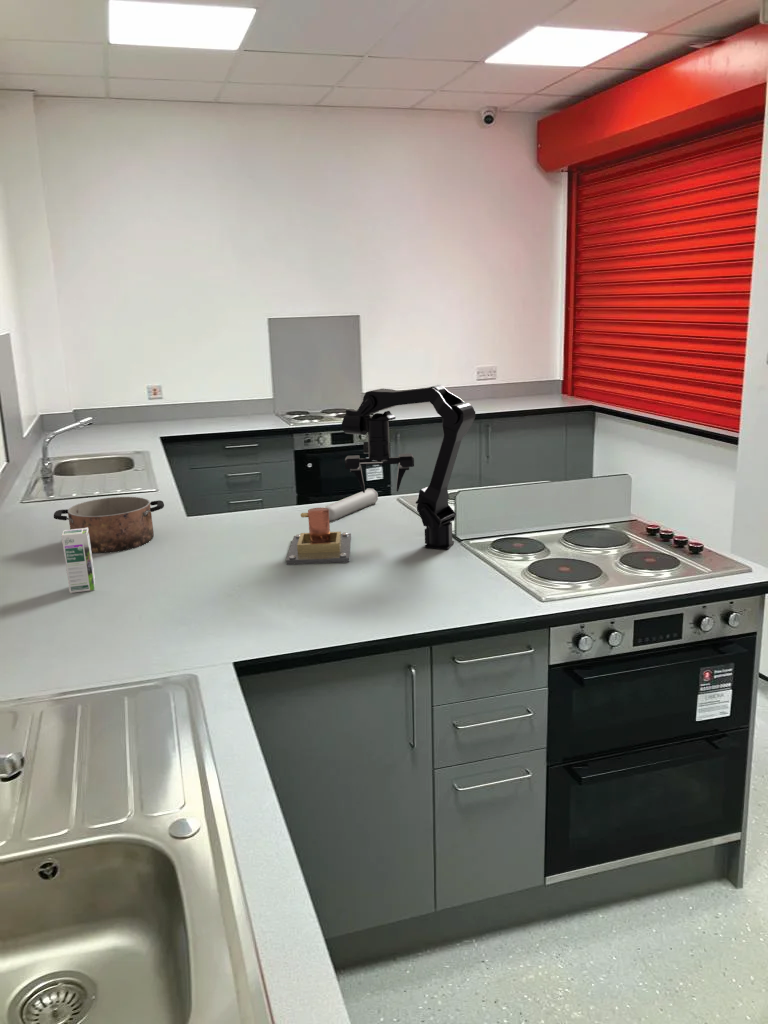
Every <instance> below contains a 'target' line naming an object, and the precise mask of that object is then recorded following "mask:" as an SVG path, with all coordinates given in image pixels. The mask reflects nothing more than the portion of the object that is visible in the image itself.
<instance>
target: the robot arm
mask: <svg viewBox="0 0 768 1024" xmlns="http://www.w3.org/2000/svg"><path fill="white" fill-rule="evenodd" d="M421 403H430V404H431V405H432V406H433V409H434V410H435V411H436V413H437V414H438V415H439V416H440V417H441V418H442V423H441V426H442V432H443V438H442V441H441V445H440V448H439V452H438V455H437V459H436V461H435V465H434V469H433V471H432V472H433V473H432V475H431V479H430V483H429V485H428V486H426V487H423V488H421V489H420V490H419V492H418V498H417V500H416V501H415V504H417V505H416V511H417V512H418V513H417V514H418V515H419V516H420V520H421V523H422V524H423V527H426V528H424V544H425V545H424V548H426V549H437V550H449V548H451V547H452V546H453V545H454V544H455V541H454V540H453V522H454V521H455V520H456V516H457V513H456V511H454V509H453V508H452V507H451V506H450V505H449V498H450V495H449V491H448V486H449V484H450V479H451V476H452V472H453V470H454V467H455V463H456V460H457V455H458V453H459V449H460V447H461V442H462V440H463V438H464V436H465V435H466V434H467V433H468V431H469V430H470V428H471V427H472V425H473V423H474V421H475V418H476V414H477V413H476V411H475V409H474V408H475V407H473V405H472V404H470V403H469V402H465V400H463V399H462V398H461V397H459V396H458V395H456V394H454V393H452V392H451V391H449V390H448V389H447V388H446V387H445V386H443V385H441V384H437V385H433V386H429V387H421V388H412V389H404V390H398V389H397V390H396V389H392V388H391V389H390V388H378V389H374V390H368V391H366V392H365V393H364V395H363V398H362V402H361V403H360V405H359V407H358V409H352V408H350V409H346V410H345V415H344V416H343V418H342V422H341V428H342V431H343V433H344V434H347V435H359V436H361V435H362V436H364V435H365V436H366V435H367V440H368V441H363V454H365V455H366V454H368V458H367V457H366V458H365V457H364V458H362V457H361V458H360V455H358V454H357V455H356V454H355V455H347V456H345V458H344V467H345V470H349V472H350V473H354V475H355V477H356V479H357V481H358V482H359V485H360V487H361V490H362V491H363V493H365V490H366V489H365V481H364V476H363V469H362V466H374V465H375V466H376V465H397V475H396V485H395V486H396V487H395V488H396V492H399V490H400V486H401V483H402V479H403V478H404V475H405V474H406V471H409V470H410V468H413V467H415V459H414V455H413V453H410V452H409V453H408V452H407V453H399V454H398V456H393V457H391V455H390V453H391V452H390V450H391V449H390V448H391V447H390V431H389V430H390V425H389V421H393V420H395V419H396V416H395V415H394V414H393V413H391V411H390V410H388V409H391V408H394V407H397V406H403V405H404V406H405V405H415V404H421ZM385 410H386V411H385ZM381 411H384V412H381ZM380 412H381V413H380ZM372 414H373V415H372ZM362 491H361V492H362Z"/></svg>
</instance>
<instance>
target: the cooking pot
mask: <svg viewBox="0 0 768 1024" xmlns="http://www.w3.org/2000/svg"><path fill="white" fill-rule="evenodd" d="M152 506H153V507H152ZM163 508H165V504H164V501H163V500H158V499H157V500H154V501H153V500H152V501H150V500H148V499H147V498H144V497H139V496H138V497H137V496H114V497H104V498H103V497H102V498H97V499H92V500H87V501H84V502H81V503H78V504H75V505H73V506H71V507H69V508H67V509H58V510H56V511H55V512H54V513H53V519H55V520H59V521H68V522H69V530H71V529H81V528H87V527H88V530H89V537H90V545H91V552H92V554H109V553H110V552H111V553H117V552H118V551H119V552H123V550H125V551H129V550H133V549H137V548H139V546H140V547H142V545H143V546H145V545H146V543H147V544H148V543H150V542H151V541H152V540H153V538H154V526H153V518H152V513H153V512H157V511H159V510H162V509H163ZM65 514H66V515H65ZM149 541H150V542H149ZM144 544H145V545H144ZM132 548H133V549H132ZM128 549H129V550H128Z"/></svg>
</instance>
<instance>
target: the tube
mask: <svg viewBox="0 0 768 1024" xmlns="http://www.w3.org/2000/svg"><path fill="white" fill-rule="evenodd" d="M378 500H379V494H378V492H377V490H375V489H374V488H370V487H369V488H366V489H365V493H363V491H360V492H357V493H355V494H352V495H350V496H347V497H344V498H343V499H340V500H338V501H335V502H332V503H330V504H328V505H325V507H324V508H328V509H329V522H334V521H336V520H339V519H341V518H343V517H346V516H347V515H348V516H349V515H350V514H352V513H355V512H358V511H360V510H362V509H365V508H367V507H369V506H372V505H375V504H376V503H377V502H378Z"/></svg>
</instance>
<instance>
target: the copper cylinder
mask: <svg viewBox="0 0 768 1024" xmlns="http://www.w3.org/2000/svg"><path fill="white" fill-rule="evenodd" d="M300 517H301V518H307V519H308V520H307V521H308V531H309V532H308V533H309V536H310V543H330V542H331V541H330V532H331V525H330V521H329V509H328V508H325V507H312V508H310V509H308V510H307V512H302V513H300Z"/></svg>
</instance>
